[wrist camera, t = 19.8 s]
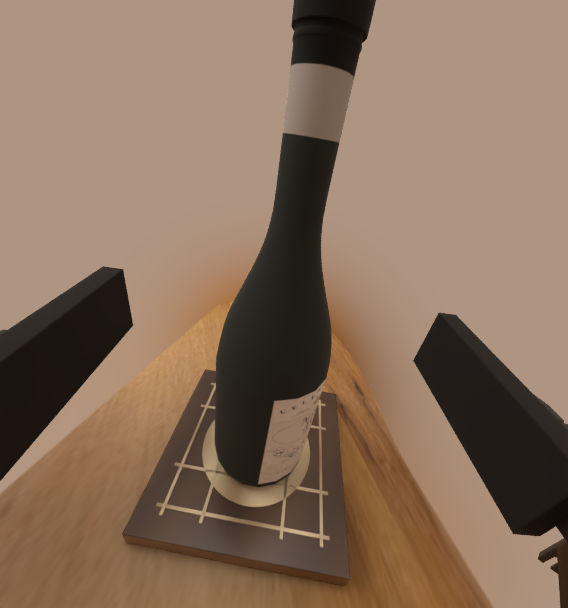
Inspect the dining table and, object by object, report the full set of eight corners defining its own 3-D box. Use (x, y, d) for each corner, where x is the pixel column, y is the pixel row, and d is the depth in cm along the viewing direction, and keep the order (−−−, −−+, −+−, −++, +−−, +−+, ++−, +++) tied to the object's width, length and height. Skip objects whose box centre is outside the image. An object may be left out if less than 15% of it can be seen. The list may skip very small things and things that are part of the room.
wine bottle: (312, 432, 27) (452, 20, 12) (276, 514, 21) (477, -159, 5) (246, 396, 30) (287, 18, 14) (195, 459, 23) (170, -103, 8)
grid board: (125, 542, 19) (121, 533, 18) (205, 377, 33) (205, 368, 32) (344, 586, 19) (350, 579, 18) (333, 402, 33) (336, 393, 32)
